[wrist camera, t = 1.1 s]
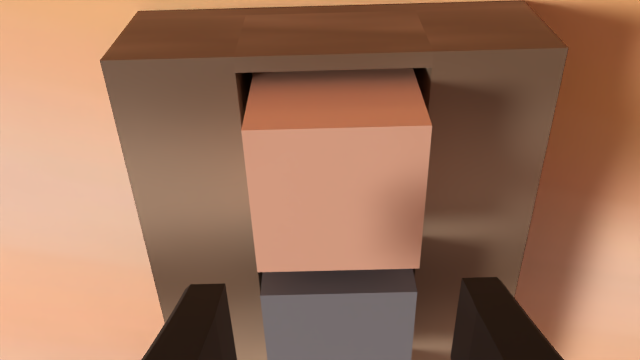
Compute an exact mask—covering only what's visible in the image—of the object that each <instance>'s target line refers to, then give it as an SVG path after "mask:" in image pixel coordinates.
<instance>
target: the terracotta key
mask: <svg viewBox="0 0 640 360" xmlns="http://www.w3.org/2000/svg"><path fill="white" fill-rule="evenodd" d="M241 134H242V142H243V151H244V160H245V169H246V177H247V186H248V195H249V204H250V212H251V221H252V230H253V239H254V247H255V256H256V265H257V272H292V271H333V270H375V269H417V268H420V256H421V245H422V234H423V223H424V212H425V201H426V190H427V179H428V168H429V157H430V145H431V134H432V123H431V120H430V117H429V114H428V111H427V108H426V106H425V103H424V100H423V97H422V94H421V91H420V88H419V85H418V82H417V79H416V76H415V73H414V70H413V68H396V69H359V70H322V71H285V72H253V77H252V82H251V86H250V91H249V96H248V101H247V105H246V110H245V115H244V119H243V124H242V129H241Z"/></svg>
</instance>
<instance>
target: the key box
mask: <svg viewBox="0 0 640 360" xmlns="http://www.w3.org/2000/svg"><path fill="white" fill-rule="evenodd" d="M567 52H568V47H567V46H566V45H565V44H564V43H563V42H562V41H561V40H560V39H559V37H558V36H557V35H556V34H555V33H554V32H553V31H552V30H551V29H550V28H549V27H548V26H547V25H546V24H545V23H544V22H543V21H542V20H541V18H540V17H539V16H538V15H537V14H536V13H535V12H534V11H533V10H532V9H531V8H530V7H529V6H528V5H527V4H526V3H525V2H524V1H492V2H456V3H420V4H385V5H349V6H313V7H278V8H242V9H206V10H171V11H138V12H137V13H136V14H135V16H134V17H133V18H132V20H131V21H130V22H129V24H128V25H127V26H126V27H125V29H124V30H123V31H122V33H121V34H120V35H119V37H118V38H117V39H116V40H115V42H114V43H113V44H112V46H111V47H110V48H109V50H108V51H107V52H106V53H105V55H104V56H103V57H102V59H101V60H100V63H101V67H102V71H103V75H104V79H105V83H106V87H107V91H108V95H109V99H110V103H111V107H112V111H113V115H114V119H115V123H116V128H117V132H118V136H119V140H120V144H121V148H122V152H123V156H124V160H125V164H126V168H127V172H128V176H129V180H130V184H131V188H132V192H133V196H134V200H135V204H136V208H137V212H138V217H139V221H140V225H141V229H142V233H143V237H144V241H145V245H146V249H147V253H148V257H149V261H150V265H151V269H152V273H153V277H154V281H155V285H156V289H157V293H158V297H159V302H160V306H161V310H162V314H163V318H164V322H165V323H166V321H167V319H168V318H169V316H170V314H171V313H172V311H173V309H174V308H175V306H176V304H177V303H178V301H179V299H180V297H181V296H182V294H183V292H184V290H185V289H186V288H187V287H188V286H189V285H190V284H222V283H225V285H226V292H227V298H228V304H229V311H230V317H231V323H232V330H233V336H234V343H235V349H236V355H237V360H267V352H266V343H265V335H264V326H263V317H262V309H261V300H260V291H261V282H262V273H263V272H257V265H256V256H255V247H254V239H253V230H252V221H251V212H250V204H249V195H248V186H247V177H246V169H245V160H244V151H243V142H242V134H241V129H242V124H243V119H244V115H245V110H246V105H247V101H248V96H249V91H250V86H251V82H252V77H253V72H285V71H322V70H359V69H396V68H413V70H414V73H415V76H416V79H417V82H418V85H419V88H420V91H421V94H422V97H423V100H424V103H425V106H426V108H427V111H428V114H429V117H430V120H431V123H432V134H431V145H430V157H429V168H428V179H427V190H426V201H425V212H424V223H423V234H422V245H421V256H420V268H417V269H413V273H414V278H415V283H416V288H417V301H416V312H415V323H414V334H413V345H412V356H411V360H451V357H450V356H451V349H452V342H453V335H454V328H455V321H456V314H457V307H458V301H459V294H460V287H461V280H462V278H473V277H498V278H499V279H500V280H501V281H502V282H503V284H504V285H505V286H506V288H507V289H508V290H509V292H510V293H511V294H512V296H513V297H514V296H515V291H516V287H517V282H518V278H519V273H520V268H521V264H522V259H523V254H524V250H525V245H526V241H527V236H528V231H529V227H530V222H531V218H532V213H533V208H534V204H535V199H536V195H537V190H538V185H539V181H540V176H541V172H542V167H543V162H544V158H545V153H546V149H547V144H548V139H549V135H550V130H551V126H552V121H553V116H554V112H555V107H556V103H557V98H558V93H559V89H560V84H561V80H562V75H563V70H564V66H565V61H566V57H567Z"/></svg>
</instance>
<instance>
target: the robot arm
mask: <svg viewBox="0 0 640 360" xmlns="http://www.w3.org/2000/svg"><path fill="white" fill-rule="evenodd" d="M450 357H451V360H564V359H563V358H562V357H561V356H560V355H559V353H558V352H557V351H556V350H555V349H554V347H553V346H552V345H551V344H550V343H549V341H548V340H547V339H546V338H545V336H544V335H543V334H542V333H541V331H540V330H539V329H538V328H537V326H536V325H535V324H534V323H533V321H532V320H531V319H530V318H529V316H528V315H527V314H526V313H525V311H524V310H523V309H522V307H521V306H520V305H519V303H518V302H517V301H516V300H515V298H514V297H513V296H512V294H511V293H510V292H509V290H508V289H507V288H506V286H505V285H504V284H503V282H502V281H501V280H500V279H499V278H498V277H473V278H462V280H461V287H460V294H459V301H458V307H457V314H456V321H455V328H454V335H453V342H452V349H451V356H450ZM142 360H237V355H236V349H235V343H234V336H233V330H232V323H231V317H230V311H229V304H228V298H227V292H226V285H225V283H222V284H190V285H189V286H188V287H187V288H186V289H185V290H184V292H183V294H182V296H181V297H180V299H179V301H178V303H177V304H176V306H175V308H174V309H173V311H172V313H171V314H170V316H169V318H168V319H167V321H166V323H165V324H164V326H163V328H162V329H161V331H160V332H159V334H158V335H157V337H156V339H155V340H154V342H153V343H152V345H151V346H150V348H149V349H148V351H147V352H146V354H145V355H144V357H143V358H142Z"/></svg>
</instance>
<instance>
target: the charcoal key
mask: <svg viewBox="0 0 640 360" xmlns="http://www.w3.org/2000/svg"><path fill="white" fill-rule="evenodd" d="M260 300H261V309H262V317H263V326H264V335H265V343H266V352H267V360H411V356H412V345H413V334H414V323H415V312H416V301H417V288H416V283H415V278H414V273H413V269H375V270H333V271H292V272H263V273H262V282H261V291H260Z"/></svg>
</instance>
